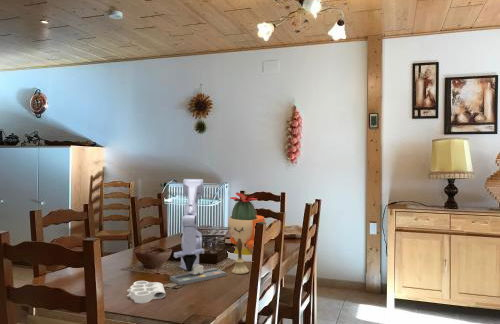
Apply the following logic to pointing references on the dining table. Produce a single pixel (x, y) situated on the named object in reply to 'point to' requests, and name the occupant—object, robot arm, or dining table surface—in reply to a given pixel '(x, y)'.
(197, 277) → the selector board
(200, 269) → the white block
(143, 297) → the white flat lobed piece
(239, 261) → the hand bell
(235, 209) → the potted cactus
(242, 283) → the dining table surface
